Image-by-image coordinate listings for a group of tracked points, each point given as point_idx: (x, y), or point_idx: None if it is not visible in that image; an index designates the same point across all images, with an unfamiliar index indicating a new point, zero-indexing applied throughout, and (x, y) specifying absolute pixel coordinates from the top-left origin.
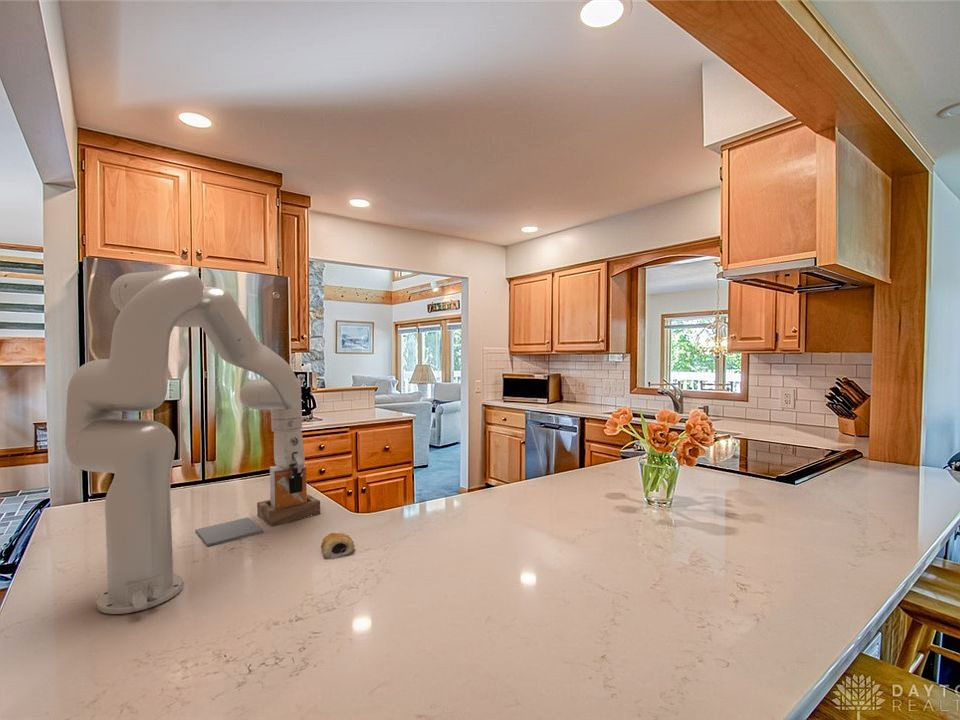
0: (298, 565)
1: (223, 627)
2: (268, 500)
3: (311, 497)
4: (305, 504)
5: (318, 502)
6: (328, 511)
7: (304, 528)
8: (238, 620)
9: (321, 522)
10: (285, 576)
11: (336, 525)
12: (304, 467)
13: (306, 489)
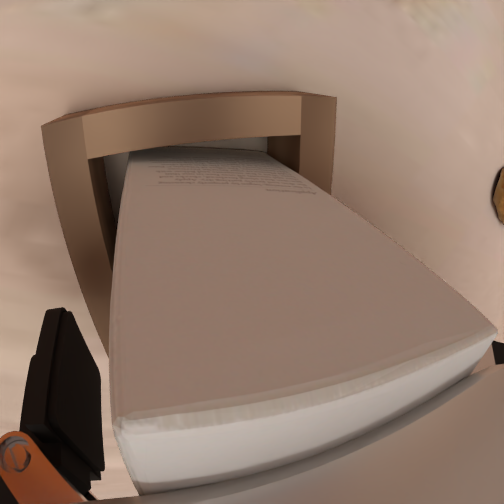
0: (494, 269)
1: (494, 339)
2: (108, 345)
3: (217, 109)
4: (329, 191)
5: (332, 107)
6: (287, 41)
7: (392, 211)
8: (498, 330)
9: (390, 138)
10: (495, 289)
11: (442, 115)
12: (487, 344)
13: (338, 201)
